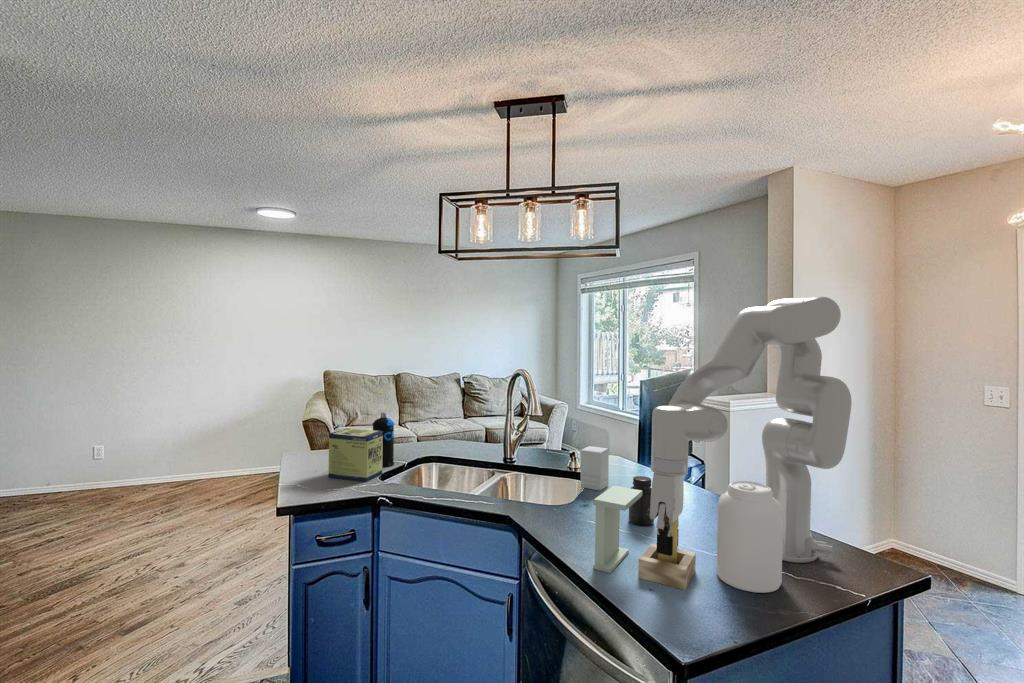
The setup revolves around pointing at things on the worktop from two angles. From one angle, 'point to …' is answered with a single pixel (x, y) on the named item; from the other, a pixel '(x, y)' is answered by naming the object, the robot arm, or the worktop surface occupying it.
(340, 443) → the protein box
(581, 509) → the worktop surface
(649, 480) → the supplement bottle
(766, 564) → the can
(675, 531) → the peg
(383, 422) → the black bottle
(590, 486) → the supplement box
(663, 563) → the socket block
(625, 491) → the pale green stand
